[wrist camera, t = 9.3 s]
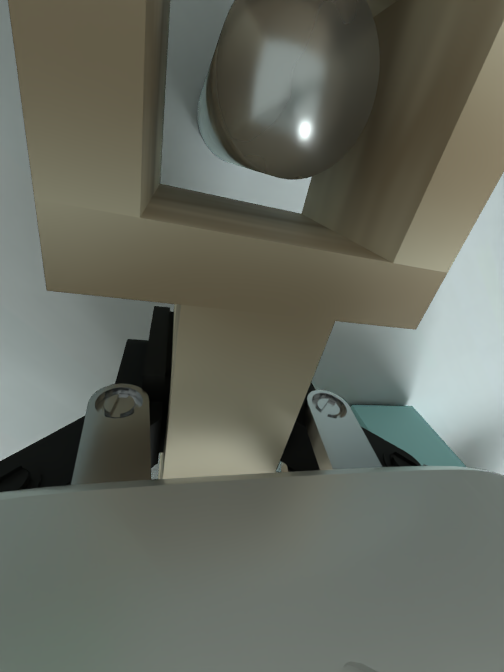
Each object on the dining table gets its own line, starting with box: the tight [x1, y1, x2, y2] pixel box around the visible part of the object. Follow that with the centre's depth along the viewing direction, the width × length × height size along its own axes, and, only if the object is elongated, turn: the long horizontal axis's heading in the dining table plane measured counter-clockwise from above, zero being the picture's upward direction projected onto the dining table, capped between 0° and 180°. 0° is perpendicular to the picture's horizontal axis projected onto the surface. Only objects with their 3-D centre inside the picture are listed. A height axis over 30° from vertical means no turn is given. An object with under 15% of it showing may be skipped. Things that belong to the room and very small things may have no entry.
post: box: [197, 0, 380, 179], centre depth 8 cm, size 3×3×7 cm
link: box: [8, 0, 504, 479], centre depth 9 cm, size 20×7×5 cm, turn 167°
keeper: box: [351, 405, 466, 467], centre depth 18 cm, size 7×14×6 cm, turn 77°
